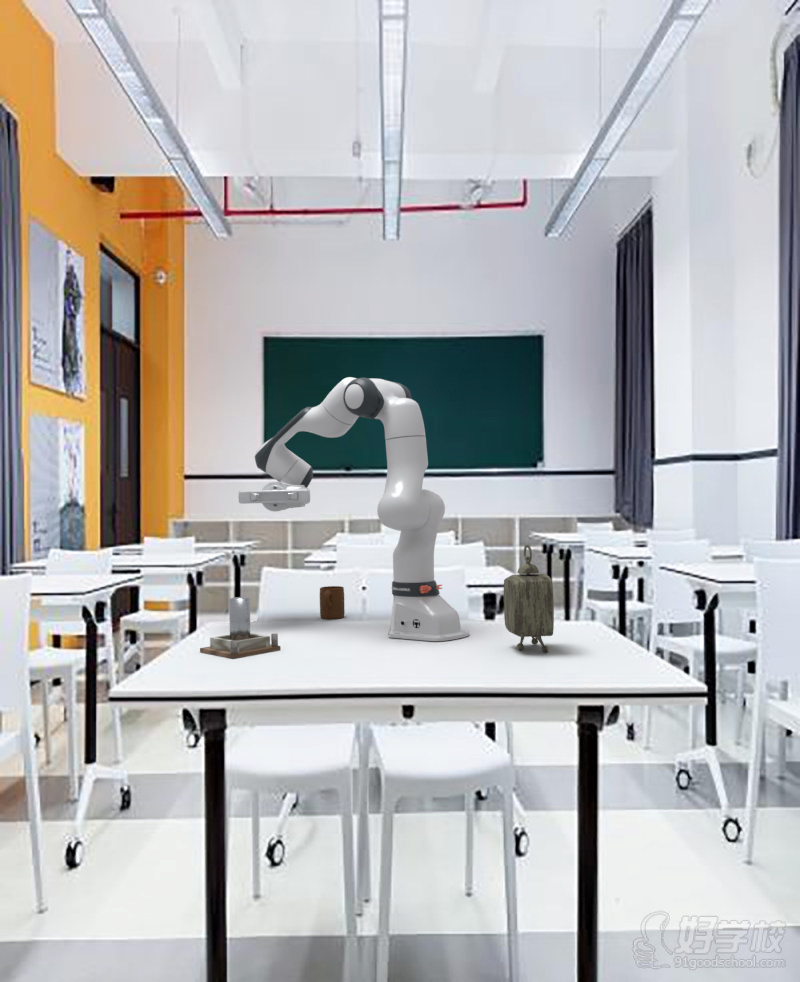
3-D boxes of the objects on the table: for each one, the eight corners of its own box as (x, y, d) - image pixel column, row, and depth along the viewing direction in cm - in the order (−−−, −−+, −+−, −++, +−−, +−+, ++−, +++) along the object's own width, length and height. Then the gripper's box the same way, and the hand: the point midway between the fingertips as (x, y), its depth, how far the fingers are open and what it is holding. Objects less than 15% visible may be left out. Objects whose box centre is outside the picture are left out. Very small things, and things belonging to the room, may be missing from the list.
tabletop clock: (554, 654, 197) (552, 546, 197) (516, 655, 197) (513, 547, 197) (540, 643, 212) (537, 542, 212) (504, 644, 211) (501, 543, 211)
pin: (254, 646, 211) (253, 598, 211) (238, 649, 207) (237, 600, 207) (242, 644, 214) (241, 596, 214) (226, 647, 211) (225, 598, 211)
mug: (338, 621, 256) (338, 590, 256) (314, 621, 257) (313, 590, 257) (346, 615, 268) (346, 585, 268) (323, 616, 269) (322, 586, 269)
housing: (280, 650, 211) (280, 633, 211) (233, 658, 201) (232, 641, 201) (246, 644, 220) (246, 628, 220) (200, 652, 210) (199, 635, 210)
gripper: (239, 486, 249) (235, 485, 236) (309, 484, 252) (309, 484, 238) (239, 508, 249) (235, 508, 236) (310, 506, 252) (310, 506, 238)
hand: (273, 496), depth 237 cm, fingers open, 8 cm apart
